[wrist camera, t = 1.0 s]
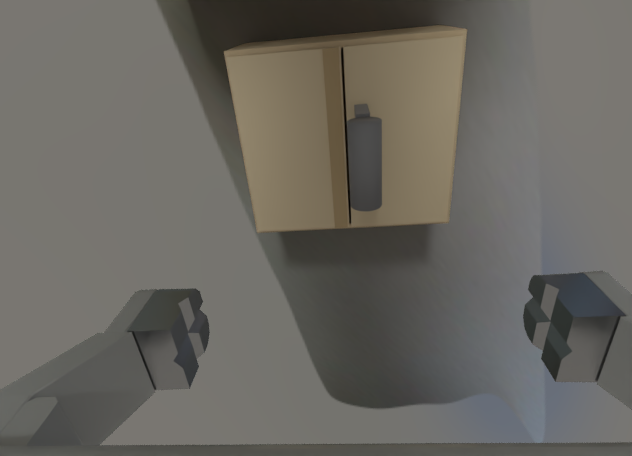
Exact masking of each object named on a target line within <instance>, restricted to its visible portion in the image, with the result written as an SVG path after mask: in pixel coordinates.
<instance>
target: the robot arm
mask: <svg viewBox="0 0 632 456" xmlns="http://www.w3.org/2000/svg"><path fill="white" fill-rule="evenodd" d="M528 290H529V292H530V293H531V295H532V296H533V298H532V299H531V300H530V301H528V302H527V303H526V304H525V308H524V314H523V319H524V327H525V330H526V333H527V336H528V338H529V339H530V341H531V343H532V344H533V345H535V346H536V347H538V348H540V349H541V350H543V353H542V357H541V359H542V361H543V362H544V364H545V366H546V367H547V369H548V370H549V372H550V374H551V375H552V377H553V378H554V380H555V382H597V385H599V386H600V387H602V388H603V389H604V390H606V391H607V392H608V393H610V394H611V395H612V396H614V397H615V398H617V399H618V400H619V401H621V402H622V403H624V404H625V405H626V406H628V407H629V408H630V409H632V294H631V293H630V292H629V291H628V290H626V289H625V288H624V287H623V286H622V285H621V284H620V283H619V282H618V281H616V280H615V279H614V278H613V277H612V276H611V275H610V274H608V273H606V272H603V271H593V272H580V273H570V274H550V275H533V277H532V279H531V280H530V283H529V288H528ZM202 302H203V301H202V298H201V294H200V291H198V290H197V289H159V290H157V289H154V290H153V289H152V290H139V291H137V292H135V293H134V295H133V296H132V297H131V298H130V300H129V301H128V302H127V303H126V305H125V306H124V307H123V309H122V310H121V311H120V313H119V314H118V315H117V317H116V318H115V319H114V320H113V322H112V323H111V324H110V326H109V327H108V328H107V329H106V331H105V332H104V333H97V334H95V335H94V336H92V337H90V338H88V339H87V340H85V341H83V342H82V343H80V344H78V345H76V346H75V347H73V348H71V349H70V350H68V351H66V352H64V353H62V354H61V355H59V356H57V357H56V358H54V359H52V360H50V361H49V362H47V363H45V364H44V365H42V366H40V367H39V368H37V369H35V370H33V371H31V372H30V373H28V374H26V375H25V376H23V377H21V378H19V379H18V380H16V381H14V382H13V383H11V384H9V385H7V386H6V387H4V388H2V389H1V390H0V456H632V442H629V443H628V442H622V443H442V444H441V443H438V444H437V443H426V444H267V445H266V444H262V445H261V444H259V445H100V444H101V443H102V442H103V441H104V440H105V439H106V438H107V437H108V436H110V435H111V434H112V433H113V432H114V431H115V430H116V429H117V428H118V427H119V426H120V425H121V424H122V423H123V422H124V421H125V420H126V419H127V418H129V417H130V416H131V415H132V414H133V413H134V412H135V411H136V410H137V409H138V408H139V407H140V406H141V405H142V404H143V403H144V402H145V401H146V400H147V399H148V398H150V397H151V396H152V395H153V394H154V393H155V390H168V389H188V388H189V389H190V387H191V384H192V382H193V379H194V377H195V375H196V372H197V370H198V367H199V365H198V363H197V358H198V357H200V356H201V355H202V354H203V353H204V352H205V350H206V347H207V344H208V339H209V323H208V319H207V316H206V315H205V314H204V313H203V312H202V311H201V310H200V307H201V305H202Z"/></svg>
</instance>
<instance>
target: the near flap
mask: <svg viewBox="0 0 632 456" xmlns="http://www.w3.org/2000/svg"><path fill="white" fill-rule="evenodd" d="M462 45H463V36H455V37H444V38H433V39H422V40H411V41H400V42H389V43H377V44H366V45H355V46H344V47H343V53H344V74H345V96H346V117H347V139H348V160H349V182H350V203H351V224H352V227H355V226H374V225H394V224H413V223H432V222H447V211H448V200H449V189H450V178H451V167H452V156H453V145H454V134H455V123H456V112H457V101H458V89H459V78H460V67H461V56H462Z"/></svg>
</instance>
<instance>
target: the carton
mask: <svg viewBox="0 0 632 456" xmlns="http://www.w3.org/2000/svg"><path fill="white" fill-rule="evenodd" d="M455 36H463V45H462V56H461V67H460V78H459V89H458V101H457V112H456V123H455V134H454V145H453V156H452V167H451V178H450V189H449V200H448V211H447V222H432V223H413V224H394V225H374V226H355V227H352V224H351V203H350V182H349V160H348V139H347V117H346V96H345V74H344V53H343V47H344V46H355V45H366V44H377V43H389V42H400V41H411V40H422V39H433V38H444V37H455ZM466 36H467V29H463V28H457V27H451V26H445V25H434V26H423V27H412V28H402V29H391V30H380V31H369V32H359V33H348V34H337V35H326V36H316V37H305V38H294V39H283V40H273V41H262V42H251V43H244V44H241V45H239V46H236V47H234V48H231V49H229V50H226V51H224V56H225V61H226V67H227V72H228V78H229V83H230V88H231V94H232V99H233V105H234V110H235V115H236V121H237V126H238V131H239V137H240V142H241V148H242V153H243V158H244V164H245V169H246V175H247V180H248V185H249V191H250V196H251V202H252V207H253V212H254V218H255V223H256V228H257V233H265V232H284V231H304V230H323V229H342V228H362V227H381V226H401V225H420V224H440V223H449V216H450V205H451V195H452V184H453V174H454V163H455V152H456V142H457V131H458V120H459V110H460V99H461V89H462V78H463V67H464V57H465V46H466Z"/></svg>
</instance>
